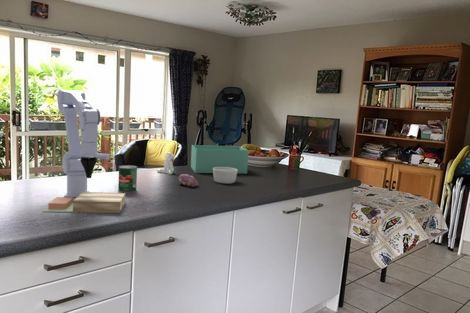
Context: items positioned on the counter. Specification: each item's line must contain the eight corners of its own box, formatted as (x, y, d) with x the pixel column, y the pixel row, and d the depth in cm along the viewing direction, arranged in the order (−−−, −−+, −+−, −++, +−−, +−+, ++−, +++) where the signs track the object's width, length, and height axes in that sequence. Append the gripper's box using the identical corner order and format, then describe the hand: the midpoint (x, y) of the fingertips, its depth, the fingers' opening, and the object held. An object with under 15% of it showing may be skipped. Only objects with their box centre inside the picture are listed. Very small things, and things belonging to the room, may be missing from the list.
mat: (56, 201, 149) (56, 200, 149) (82, 201, 151) (82, 200, 150) (43, 211, 134) (42, 210, 134) (71, 212, 136) (71, 211, 136)
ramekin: (232, 179, 216) (233, 166, 215) (240, 184, 203) (240, 171, 202) (209, 179, 212) (210, 166, 211) (215, 184, 199) (216, 171, 198)
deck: (82, 202, 150) (82, 191, 150) (125, 202, 152) (125, 193, 152) (72, 212, 136) (73, 200, 136) (119, 212, 139) (119, 202, 138)
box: (247, 173, 237) (248, 150, 235) (195, 173, 229) (196, 148, 227) (238, 168, 257) (239, 146, 255) (190, 167, 249) (191, 144, 247)
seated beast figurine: (156, 172, 221) (156, 152, 220) (164, 170, 229) (165, 150, 228) (170, 174, 218) (171, 153, 216) (178, 172, 226) (179, 152, 224)
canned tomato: (117, 192, 168) (118, 167, 167) (118, 188, 176) (118, 165, 174) (136, 192, 170) (137, 168, 169) (136, 188, 178) (136, 165, 177)
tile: (72, 197, 147) (72, 202, 147) (56, 197, 146) (56, 202, 146) (66, 203, 138) (66, 209, 138) (48, 203, 137) (48, 208, 137)
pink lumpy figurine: (178, 187, 194) (175, 175, 191) (184, 182, 198) (180, 170, 194) (194, 190, 189) (191, 178, 186) (199, 185, 193) (196, 173, 189)
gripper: (65, 141, 139) (65, 179, 141) (107, 143, 141) (106, 180, 143) (71, 140, 146) (71, 175, 148) (110, 141, 148) (110, 176, 150)
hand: (88, 177), depth 146 cm, fingers closed
